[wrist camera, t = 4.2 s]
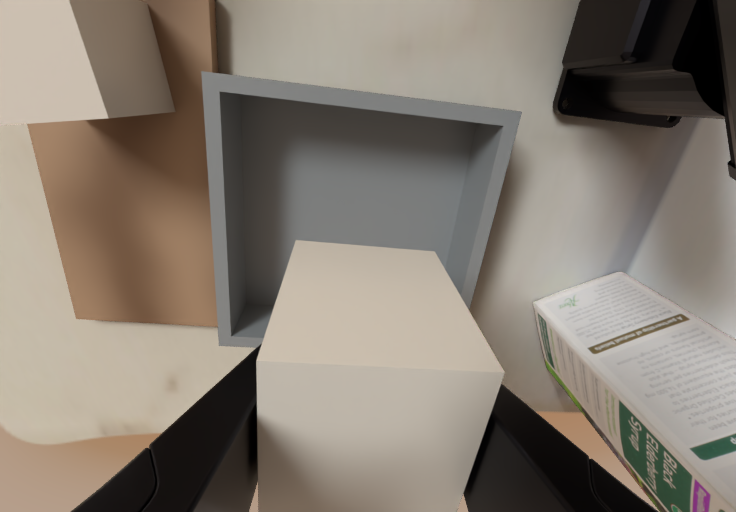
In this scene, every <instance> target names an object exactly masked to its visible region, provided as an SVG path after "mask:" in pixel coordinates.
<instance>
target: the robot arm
mask: <svg viewBox="0 0 736 512" xmlns="http://www.w3.org/2000/svg"><path fill="white" fill-rule="evenodd" d="M562 64H563V67H564V68H563V71H562V74H561V78H560V81H559V85H558V88H557V91H556V95H555V98H554V101H553V109H554V111H555V112H556V113H557V114H561V115H569V116H577V117H584V118H592V119H600V120H608V121H616V122H624V123H632V124H639V125H647V126H655V127H664V128H671V127H673V126H675V125H676V124H677V123H679V121H680V119H681V118H682V116H683V117H700V118H716V119H725V122H726V129H727V136H728V143H729V150H730V157H731V160H730V161H729V162H728V170H729V176H730V177H731V178H733V179H734V180H736V0H581V1H580V3H579V6H578V10H577V13H576V16H575V20H574V23H573V27H572V30H571V34H570V37H569V40H568V44H567V47H566V51H565V54H564V57H563V61H562ZM566 98H567V100H568V105H567V107H565V108H563V106H562V104H563V101H564V100H565V99H566ZM667 116H670V118H669V120H668V121H667ZM261 345H262V343H261V344H260V345H259V346H258V347H257V348H256V349H255V350H254V351H252V352H251V353H250V354H249V355H248V356H247V357H246V358H245V359H244V360H243V361H241V362H240V363H239V364H238V365H237V366H236V367H235V368H234V369H233V370H231V371H230V372H229V373H228V374H227V375H226V376H225V377H224V378H223V379H222V380H220V381H219V382H218V383H217V384H216V385H215V386H214V387H213V388H212V389H210V390H209V391H208V392H207V393H206V394H205V395H204V396H203V397H202V398H201V399H199V400H198V401H197V402H196V403H195V404H194V405H193V406H192V407H191V408H189V409H188V410H187V411H186V412H185V413H184V414H183V415H182V416H181V417H180V418H178V419H177V420H176V421H175V422H174V423H173V424H172V425H171V426H170V427H168V428H167V429H166V430H165V431H164V432H163V433H162V434H161V435H160V436H159V437H157V438H156V439H155V440H154V441H153V442H152V443H151V444H150V445H149V448H145V449H144V450H143V451H142V452H141V453H140V454H138V455H137V456H136V457H135V458H134V459H133V460H132V461H131V462H130V463H128V464H127V465H126V466H125V467H124V468H123V469H122V470H120V471H119V472H118V473H117V474H116V475H115V476H113V477H112V478H111V479H110V480H109V481H108V482H107V483H105V484H104V485H103V486H102V487H101V488H100V489H98V490H97V491H96V492H95V493H93V494H92V495H91V496H90V497H88V498H87V499H86V500H85V501H83V502H82V503H81V504H80V505H78V506H77V507H76V508H75V509H74V510H72V511H71V512H249V509H250V506H251V502H252V499H253V496H254V492H255V489H256V485H257V482H258V442H257V374H256V360H257V357H258V354H259V351H260V348H261ZM463 494H464V497H465V501H466V504H467V508H468V511H469V512H658V511H657V510H655V509H654V508H653V507H652V506H650V505H649V504H648V503H646V502H645V501H644V500H642V499H641V498H639V497H638V496H637V495H636V494H635V493H633V492H632V491H631V490H630V489H629V488H627V487H626V486H625V485H624V484H622V483H621V482H620V481H619V480H617V479H616V478H615V477H614V476H612V475H611V474H610V473H609V472H607V471H606V470H605V469H604V468H603V467H601V466H600V465H599V464H598V463H597V462H595V461H594V460H593V459H589V456H588V455H587V454H586V453H584V452H583V451H582V450H581V449H579V448H578V447H577V446H576V445H574V444H573V443H572V442H571V441H570V440H569V439H567V438H566V437H565V436H564V435H563V434H561V433H560V432H559V431H558V430H557V429H555V428H554V427H553V426H552V425H551V424H549V423H548V422H547V421H546V420H545V419H543V418H542V417H541V416H540V415H539V414H537V413H536V412H535V411H534V410H533V409H531V408H530V407H529V406H528V405H527V404H525V403H524V402H523V401H522V400H520V399H519V398H518V397H517V396H516V395H514V394H513V393H512V392H511V391H510V390H508V389H507V388H506V387H505V386H504V385H502V384H501V385H500V388H499V391H498V394H497V397H496V400H495V403H494V406H493V409H492V411H491V414H490V417H489V420H488V423H487V426H486V429H485V432H484V435H483V438H482V441H481V443H480V446H479V449H478V452H477V455H476V458H475V461H474V464H473V467H472V470H471V472H470V475H469V478H468V481H467V484H466V487H465V490H464V493H463Z"/></svg>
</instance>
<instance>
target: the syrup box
mask: <svg viewBox="0 0 736 512" xmlns="http://www.w3.org/2000/svg"><path fill="white" fill-rule="evenodd" d="M533 307H534V310H535V316H536V321H537V327H538V332H539V337H540V341H541V346H542V350H543V354H544V359H545V363H546V367H547V369H548V370H549V371H550V373H551V374H552V375H553V376H554V377H555V379H556V380H557V381H558V383H559V384H560V385H561V386H562V388H563V389H564V390H565V392H566V393H567V394H568V395H569V397H570V398H571V399H572V400H573V402H574V403H575V404H576V406H577V407H578V408H579V410H580V411H581V412H582V413H583V414H584V415H585V417H586V418H587V419H588V421H589V422H590V423H591V424H592V426H593V427H594V428H595V430H596V431H597V432H598V434H599V435H600V436H601V437H602V438H603V440H604V441H605V443H606V444H607V445H608V446H609V448H610V449H611V450H612V451H613V453H614V454H615V455H616V457H617V458H618V459H619V460H620V462H621V463H622V464H623V466H624V467H625V468H626V469H627V471H628V472H629V473H630V474H631V476H632V477H633V478H634V479H635V481H636V482H637V483H638V485H639V486H640V487H641V489H642V490H643V491H644V492H645V494H646V495H647V496H648V497H649V499H650V500H651V501H652V502H653V504H654V505H655V506H656V507H657V509H658V510H659V511H660V512H736V340H735V339H734V338H732V337H730V336H729V335H727V334H725V333H724V332H722V331H720V330H718V329H717V328H715V327H713V326H712V325H710V324H709V323H707V322H705V321H704V320H702V319H700V318H698V317H697V316H695V315H693V314H692V313H690V312H688V311H687V310H685V309H683V308H682V307H680V306H678V305H677V304H675V303H674V302H672V301H670V300H669V299H667V298H665V297H664V296H662V295H660V294H659V293H657V292H655V291H654V290H652V289H650V288H649V287H647V286H645V285H644V284H642V283H640V282H639V281H637V280H635V279H634V278H632V277H630V276H629V275H627V274H625V273H623V272H616V273H612V274H609V275H606V276H603V277H600V278H597V279H594V280H591V281H588V282H585V283H583V284H580V285H577V286H574V287H572V288H569V289H566V290H563V291H561V292H558V293H555V294H553V295H550V296H547V297H545V298H542V299H540V300H537V301H534V302H533Z"/></svg>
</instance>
